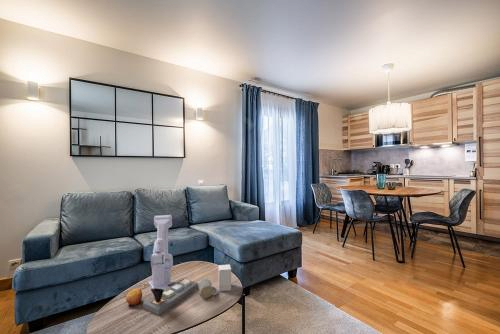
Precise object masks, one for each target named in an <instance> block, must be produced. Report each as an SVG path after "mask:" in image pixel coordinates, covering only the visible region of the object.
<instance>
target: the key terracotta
mask: <svg viewBox="0 0 500 334" xmlns="http://www.w3.org/2000/svg"><path fill="white" fill-rule="evenodd" d="M164 301H165V300H163V299H161V301H160V302H158V303H157V302H156V300H155V301H153V302H152V303H153V304H155V305H157V306H158V305H159V304H161V303H162V302H164Z"/></svg>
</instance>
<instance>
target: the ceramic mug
mask: <svg viewBox="0 0 500 334" xmlns="http://www.w3.org/2000/svg"><path fill="white" fill-rule="evenodd" d="M197 289H198V291H199V295H200V296H201V297H202V298H203V299H208V298H210V297H211V296H212V295H214V296H216V295H218V294H219V293H218V292H219V289H217V288H216V287H214V286H213V285H212V281H211V280H210V279H209V278H203V279H201V280H200V281H199V283H198V288H197ZM214 291H215V292H214Z"/></svg>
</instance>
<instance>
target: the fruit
mask: <svg viewBox="0 0 500 334" xmlns="http://www.w3.org/2000/svg"><path fill="white" fill-rule="evenodd" d="M125 299H126V300H125V301H126V303H127V304H128V305H133V306H136V305H138V304H140V303H141V301H142V299H143V291H142V289H141V288H138V287H137V288H132V289H131V290H130V291H128V293H127V294H126V295H125Z"/></svg>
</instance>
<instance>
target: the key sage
mask: <svg viewBox="0 0 500 334" xmlns="http://www.w3.org/2000/svg"><path fill="white" fill-rule="evenodd" d="M173 295H174V291H172V290H169V291H167V292H163V294H162V297H164V298H167V299H169V298H170V297H172V296H173Z"/></svg>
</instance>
